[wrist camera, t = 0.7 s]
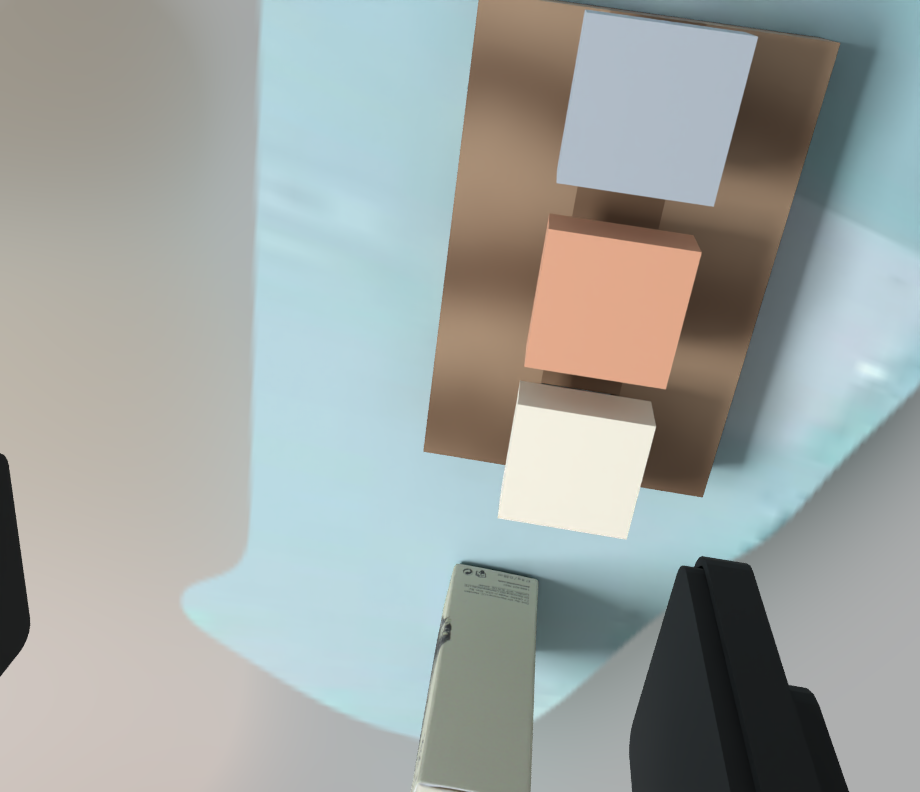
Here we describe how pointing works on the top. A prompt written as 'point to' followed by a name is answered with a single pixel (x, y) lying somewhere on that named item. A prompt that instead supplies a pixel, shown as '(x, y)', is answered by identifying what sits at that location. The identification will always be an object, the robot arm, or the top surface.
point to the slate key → (653, 107)
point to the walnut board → (537, 194)
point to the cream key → (576, 459)
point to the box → (481, 687)
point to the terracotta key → (610, 300)
